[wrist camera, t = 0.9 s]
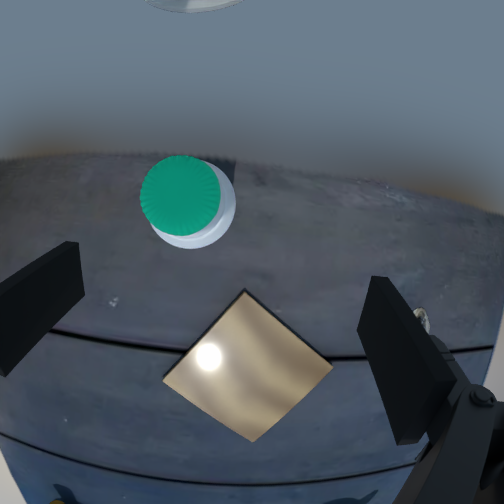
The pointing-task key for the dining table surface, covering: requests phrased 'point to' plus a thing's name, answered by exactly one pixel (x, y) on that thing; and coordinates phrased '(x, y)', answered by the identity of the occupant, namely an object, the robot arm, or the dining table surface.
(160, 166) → the water bottle
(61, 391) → the dining table surface
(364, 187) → the dining table surface
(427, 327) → the geode
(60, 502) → the decorative tree
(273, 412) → the gold metal sheet
